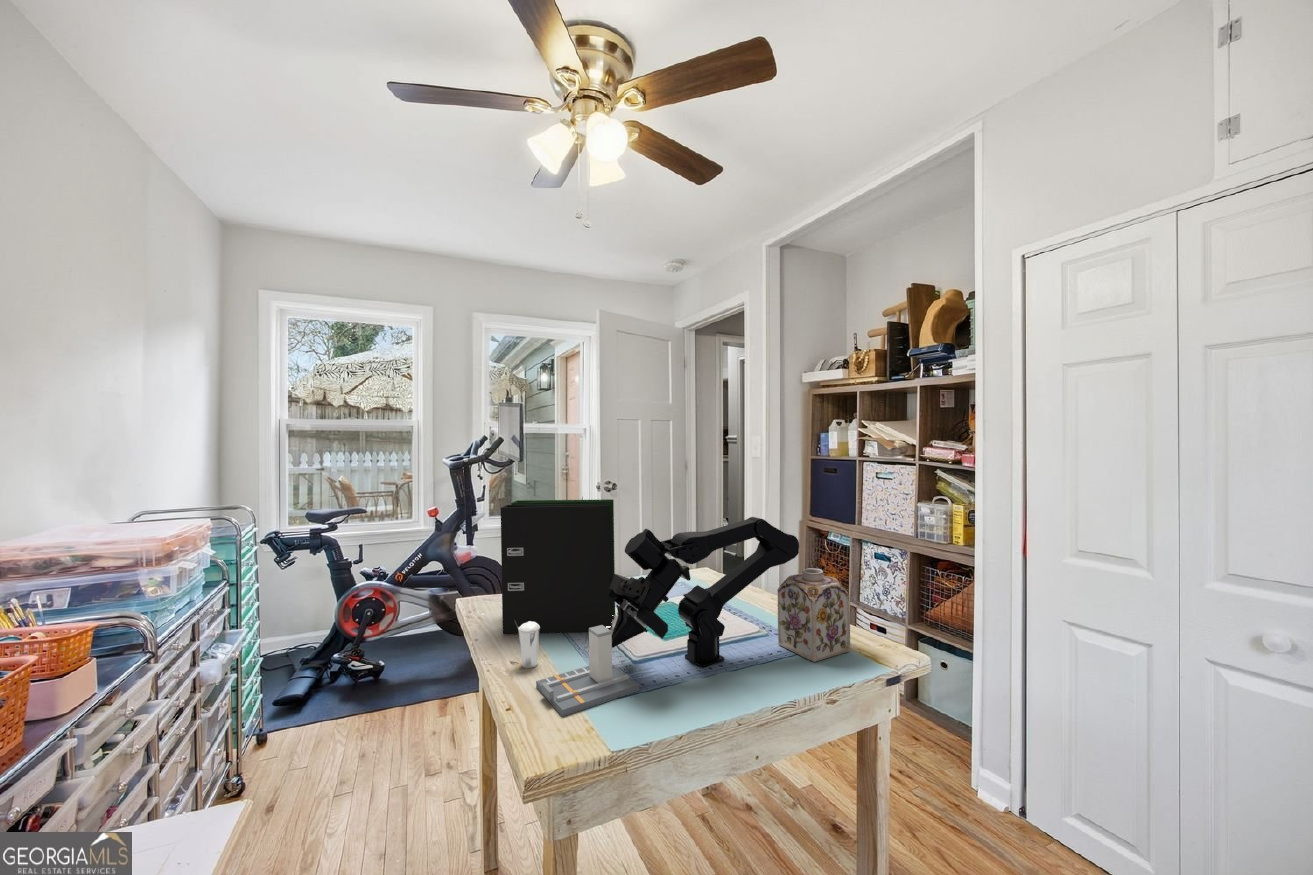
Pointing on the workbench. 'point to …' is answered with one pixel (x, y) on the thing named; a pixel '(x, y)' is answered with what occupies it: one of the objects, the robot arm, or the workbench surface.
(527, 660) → the milkshake
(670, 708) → the workbench surface
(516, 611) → the binder
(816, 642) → the decorative jar
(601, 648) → the fader tab
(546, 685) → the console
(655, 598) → the robot arm
